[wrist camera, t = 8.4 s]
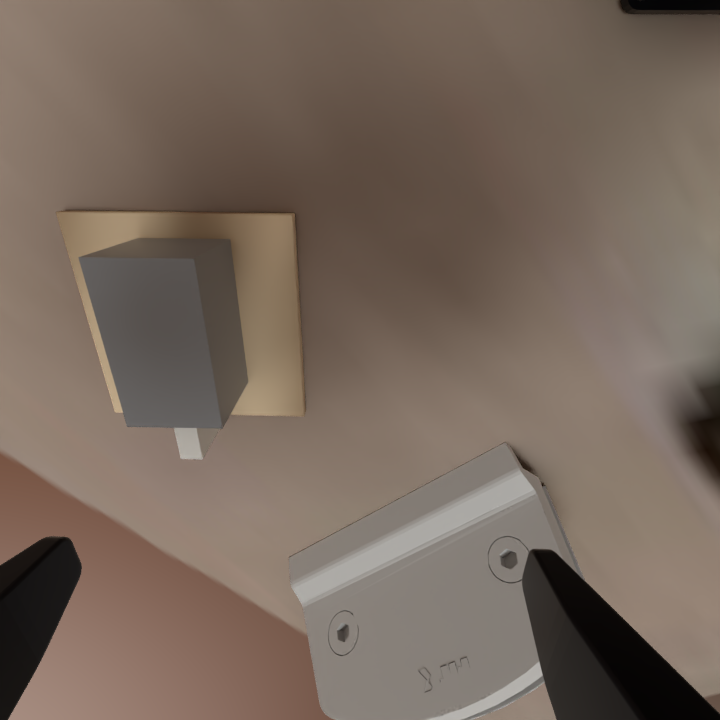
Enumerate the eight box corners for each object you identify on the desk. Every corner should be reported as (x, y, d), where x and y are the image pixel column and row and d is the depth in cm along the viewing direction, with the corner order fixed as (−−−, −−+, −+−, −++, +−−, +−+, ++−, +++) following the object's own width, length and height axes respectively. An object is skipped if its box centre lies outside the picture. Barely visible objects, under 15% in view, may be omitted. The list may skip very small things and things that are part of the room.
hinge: (511, 438, 22) (634, 653, 15) (538, 470, 25) (651, 663, 18) (284, 559, 27) (293, 769, 20) (328, 575, 30) (351, 762, 23)
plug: (137, 238, 18) (230, 239, 18) (178, 418, 22) (253, 420, 22) (78, 257, 14) (193, 258, 14) (139, 469, 18) (229, 471, 18)
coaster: (294, 213, 18) (292, 214, 17) (305, 410, 22) (304, 416, 21) (65, 210, 18) (55, 211, 17) (121, 406, 22) (115, 412, 22)
